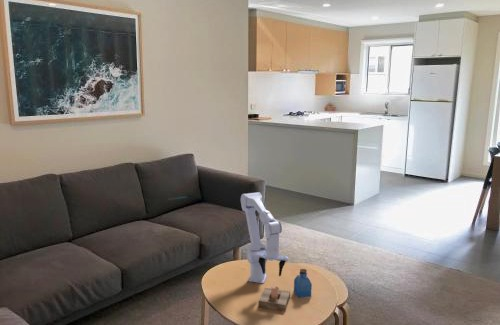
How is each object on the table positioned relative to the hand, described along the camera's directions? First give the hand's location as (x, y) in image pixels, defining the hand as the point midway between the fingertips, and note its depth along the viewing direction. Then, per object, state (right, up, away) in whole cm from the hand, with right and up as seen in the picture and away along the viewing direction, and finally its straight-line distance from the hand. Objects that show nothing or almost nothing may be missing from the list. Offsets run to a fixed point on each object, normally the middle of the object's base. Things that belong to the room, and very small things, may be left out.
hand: (272, 274), depth 186 cm
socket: (+1, -11, -6) cm, 12 cm away
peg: (+1, -11, -6) cm, 13 cm away
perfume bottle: (+14, -10, +2) cm, 18 cm away
